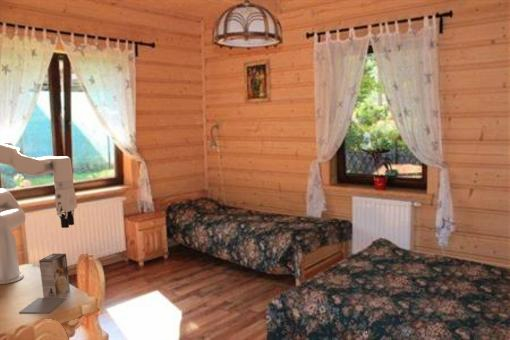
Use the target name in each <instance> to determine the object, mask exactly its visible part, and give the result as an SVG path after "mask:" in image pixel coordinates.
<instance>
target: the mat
mask: <svg viewBox="0 0 510 340" xmlns="http://www.w3.org/2000/svg"><path fill="white" fill-rule="evenodd" d="M67 299H68V298H67V297H58V298H44V297H37V298H36V299H35V300H33V301H32V302H31V303H30V304H28V305H27V306H26V307H24V308H23V309H21V310H20V311H18V313H19V314H48V315H49V314H51V313H53V311H55V310H56V309H57V308H58V307H59V306H60V305H62V304H63V303H64V302H65V301H66V300H67Z"/></svg>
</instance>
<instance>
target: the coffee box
mask: <svg viewBox="0 0 510 340" xmlns="http://www.w3.org/2000/svg"><path fill="white" fill-rule="evenodd" d="M67 260H68V259H67V253H51V254H50V255H47V256H45V257H44V258H41V259H40V260H38V261H39V270H40V279H41V289H42V295H43V297H42V298H61V296H62V295H64V294H65V293H67V292H68V291H70V290H71V288H70V279H69V268H68V261H67Z"/></svg>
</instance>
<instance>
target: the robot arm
mask: <svg viewBox="0 0 510 340" xmlns="http://www.w3.org/2000/svg"><path fill="white" fill-rule="evenodd" d="M2 164H3V165H6V166H9V167H12V168H13V170H15V171H17V172H19V173H21V174H26V175H28V176H32V177H33V176H34V177H40V176H44V175H47V174H48V175H49V174H53V185H54V190H55V192H54V194H55V196H54V198H55V200H54V202H55V209H56V215H57V216H58V217H59V219H60V226H61V228H62V229H69V228H70V226H74V225H75V219H74V216H75V213H74V212H75V209H77V207H78V204H77V203H78V202H77V195H76V191H75V188H74V177H73V170H72V159H71V158H70V157H69V156H66V155H65V156H62V155H61V156H53V155H47V156H40V157H36V158H35V157H30V156H27V155H24V151H23V150H22V149H21V148H20V147H18V146H17V147H16V146H14V145H13V143H12V142H10V141H8V140H5V139H0V165H2ZM25 222H26V213H25V211H24V210H23V208H22V206H21V205H20V204H19V203H18V201H17V200H16V198H15V197H14V195H13V194H12V193H11V192H10V191H9V190H8V189H6V188H1V187H0V285H5V284H11V283H12V284H13V283H15V282H19V281H20V280H22V279H23V278H24V276H25V274H24V273H23V272H20V265H19V257H18V248H17V240H16V237H15V235H14V234H13V232H12V231H13V230H15V229H17V228H19V227H21V226H23V225H24V223H25Z"/></svg>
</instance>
